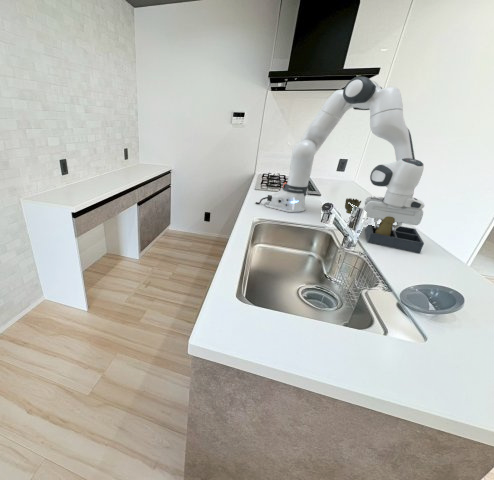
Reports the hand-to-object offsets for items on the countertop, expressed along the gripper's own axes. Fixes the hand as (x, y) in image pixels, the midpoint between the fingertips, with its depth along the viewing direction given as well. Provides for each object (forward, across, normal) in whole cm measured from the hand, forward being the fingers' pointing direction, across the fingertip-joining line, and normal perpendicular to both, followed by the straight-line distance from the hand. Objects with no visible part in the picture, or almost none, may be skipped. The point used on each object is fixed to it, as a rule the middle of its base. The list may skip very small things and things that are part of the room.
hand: (384, 229), depth 114 cm
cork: (+4, 0, 0) cm, 4 cm away
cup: (+6, -12, +36) cm, 38 cm away
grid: (+6, +4, +4) cm, 8 cm away
